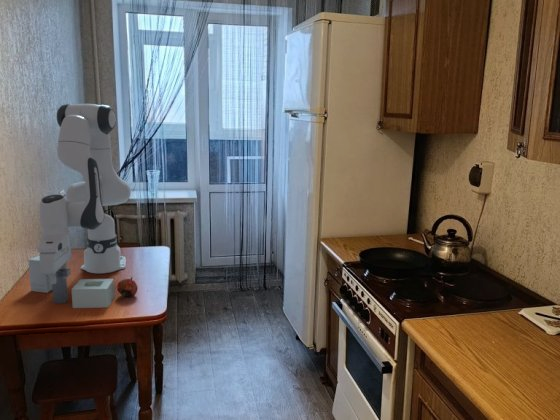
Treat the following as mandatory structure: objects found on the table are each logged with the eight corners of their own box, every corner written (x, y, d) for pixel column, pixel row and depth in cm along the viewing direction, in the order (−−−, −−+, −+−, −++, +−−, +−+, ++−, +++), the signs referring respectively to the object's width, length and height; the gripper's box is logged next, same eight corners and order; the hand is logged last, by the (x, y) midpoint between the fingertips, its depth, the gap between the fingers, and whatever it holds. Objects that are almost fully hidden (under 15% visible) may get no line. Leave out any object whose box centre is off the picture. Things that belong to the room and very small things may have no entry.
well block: (81, 297, 174) (80, 279, 173) (114, 296, 176) (113, 278, 174) (72, 308, 165) (71, 289, 163) (108, 307, 166) (107, 288, 164)
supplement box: (47, 293, 177) (44, 261, 174) (30, 291, 178) (27, 259, 176) (60, 286, 184) (57, 255, 181) (43, 284, 185) (41, 253, 183)
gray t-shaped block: (52, 300, 171) (49, 268, 168) (72, 299, 172) (70, 268, 169) (49, 303, 168) (46, 271, 165) (69, 303, 169) (67, 271, 166)
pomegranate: (133, 306, 173) (146, 283, 179) (122, 295, 168) (136, 272, 174) (118, 304, 176) (131, 282, 182) (107, 293, 171) (120, 271, 177)
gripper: (56, 234, 175) (59, 269, 177) (35, 249, 155) (38, 289, 157) (74, 234, 175) (77, 269, 178) (55, 249, 155) (58, 288, 158)
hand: (58, 278), depth 167 cm, fingers open, 8 cm apart
